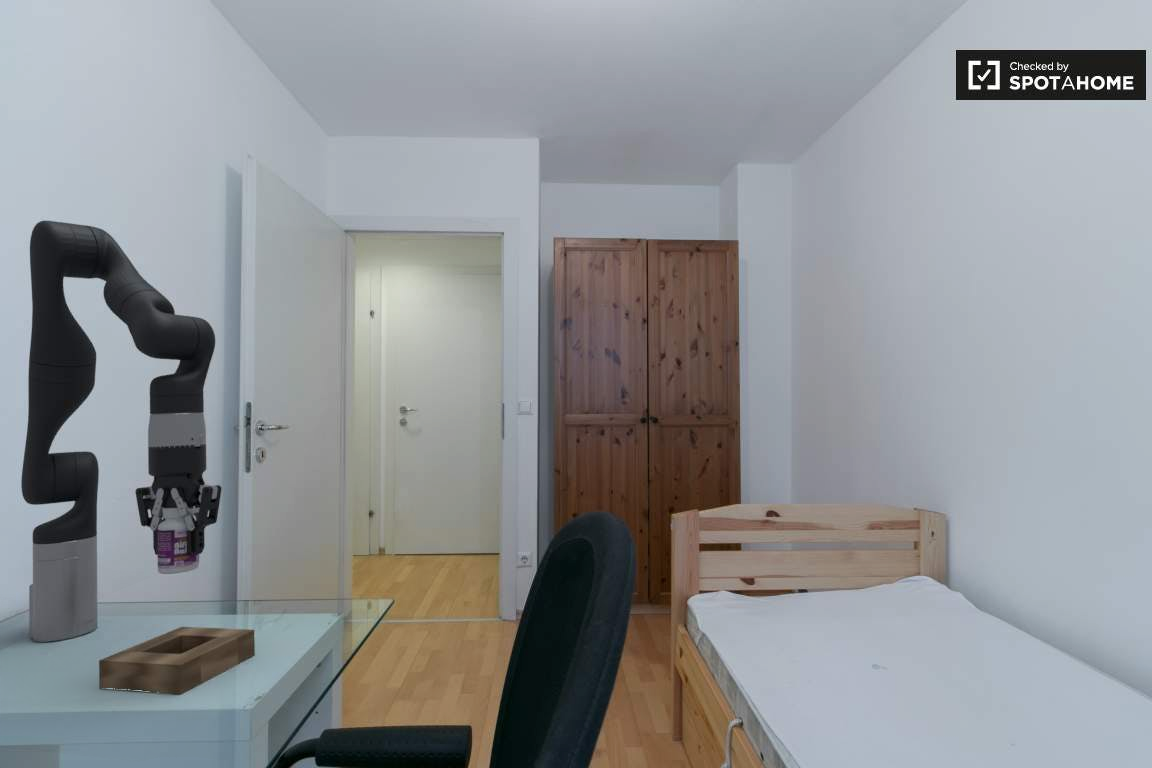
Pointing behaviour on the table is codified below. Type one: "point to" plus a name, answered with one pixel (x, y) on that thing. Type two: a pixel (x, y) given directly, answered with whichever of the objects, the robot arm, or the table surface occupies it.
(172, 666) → the well block
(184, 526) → the pill bottle
